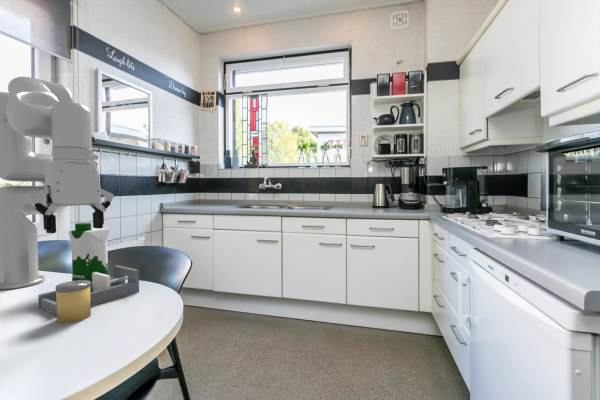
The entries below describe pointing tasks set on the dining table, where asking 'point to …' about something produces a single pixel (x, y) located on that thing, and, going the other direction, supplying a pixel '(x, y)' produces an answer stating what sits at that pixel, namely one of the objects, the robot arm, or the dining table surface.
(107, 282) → the pusher
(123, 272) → the grey open rectangular box
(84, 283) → the honey jar
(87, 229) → the milk carton
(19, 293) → the dining table surface
